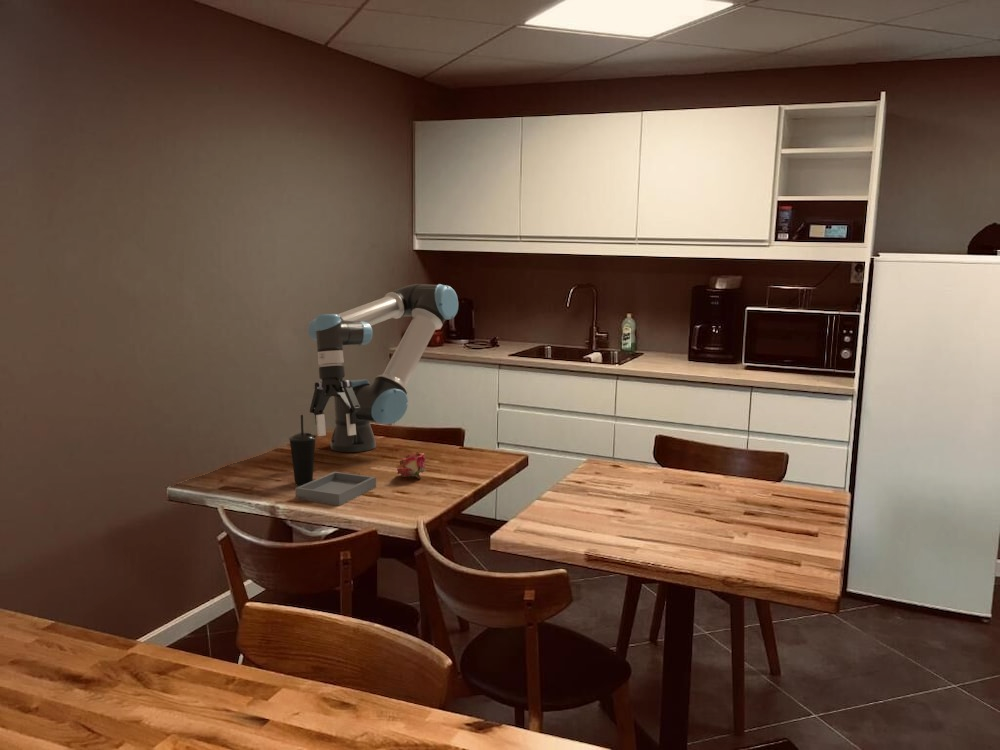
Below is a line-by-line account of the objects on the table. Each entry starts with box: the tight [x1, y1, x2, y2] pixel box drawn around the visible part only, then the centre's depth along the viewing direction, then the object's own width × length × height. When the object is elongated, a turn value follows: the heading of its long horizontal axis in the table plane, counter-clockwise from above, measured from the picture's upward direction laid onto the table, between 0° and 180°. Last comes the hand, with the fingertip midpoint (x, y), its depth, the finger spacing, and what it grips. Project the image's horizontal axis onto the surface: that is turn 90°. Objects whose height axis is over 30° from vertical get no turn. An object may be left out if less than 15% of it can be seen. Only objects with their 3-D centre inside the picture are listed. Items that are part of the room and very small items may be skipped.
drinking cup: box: [288, 414, 317, 486], centre depth 227 cm, size 8×8×20 cm
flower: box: [396, 451, 427, 480], centre depth 234 cm, size 10×9×8 cm
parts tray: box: [294, 471, 377, 506], centre depth 219 cm, size 18×14×3 cm
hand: (336, 435), depth 240 cm, fingers open, 13 cm apart
